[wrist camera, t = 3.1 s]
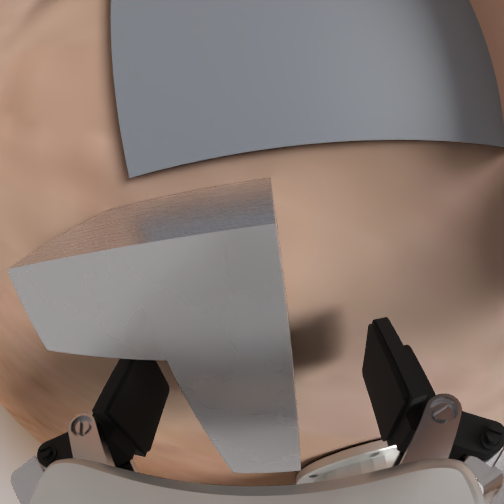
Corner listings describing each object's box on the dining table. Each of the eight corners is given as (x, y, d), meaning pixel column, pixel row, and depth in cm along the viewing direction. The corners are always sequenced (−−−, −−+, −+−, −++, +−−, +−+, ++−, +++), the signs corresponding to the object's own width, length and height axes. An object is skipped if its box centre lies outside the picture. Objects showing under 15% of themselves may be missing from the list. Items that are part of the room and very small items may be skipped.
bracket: (294, 370, 12) (300, 470, 7) (170, 375, 13) (140, 461, 8) (270, 177, 9) (274, 223, 4) (106, 210, 10) (7, 269, 5)
